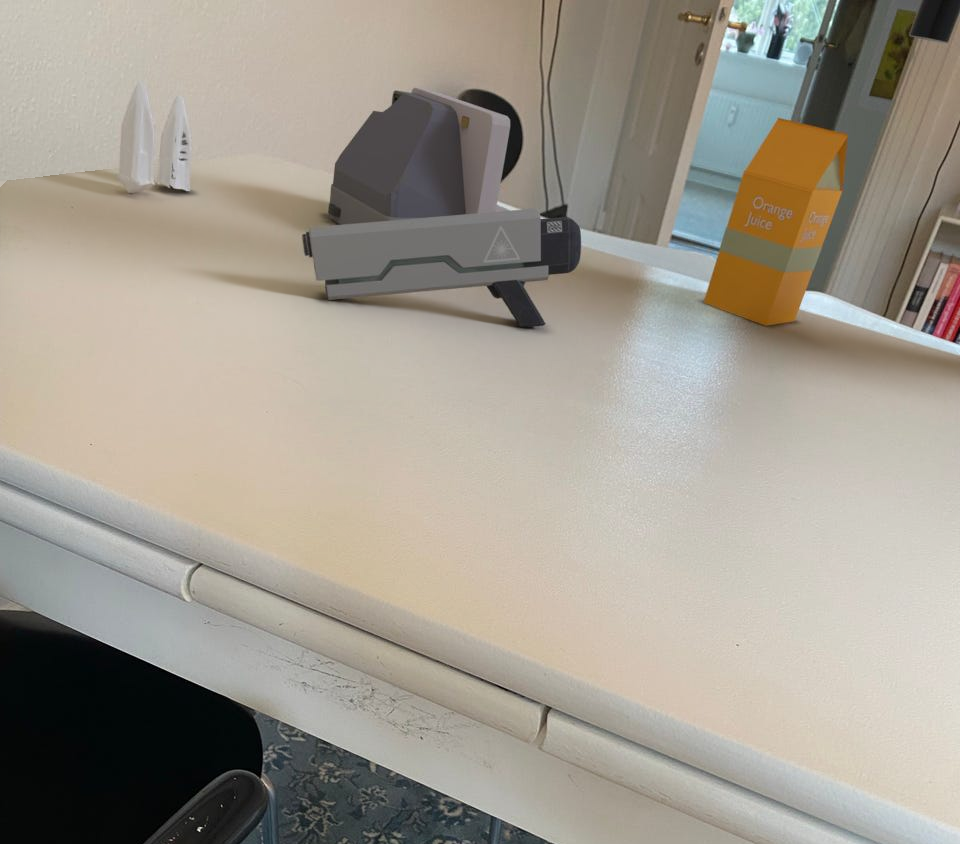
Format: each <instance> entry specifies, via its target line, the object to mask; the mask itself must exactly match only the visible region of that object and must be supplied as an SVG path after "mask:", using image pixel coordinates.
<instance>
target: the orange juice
mask: <svg viewBox="0 0 960 844" xmlns="http://www.w3.org/2000/svg"><path fill="white" fill-rule="evenodd" d="M848 139H849V134H847V133H843V132H840V131H836V130H835V131H834V130H830V129H827V128H824V127H818V126H814V125H810V124H806V123H802V122H797V121H793V120H789V119H785V118H782V117H777V120H776V121H775V122H774V124H773V126H772V127H771V129H770V131H769V132H768V133H767V135H766V136H765V139H764V140H763V142H762V143H761V145H760V146H759V148H758V149H757V151H756V153H755V154H754V156H753V157H752V159H751V161H750V162H749V164H748V165H747V167H746V168H745V169H744V170H743V173H742V176H741V180H740V183H739V186H738V189H737V192H736V197H735V199H734V201H733V205H732V209H731V212H730V215H729V218H728V222H727V225H726V227H725V230H724V233H723V237H722V240H721V243H720V246H719V249H718V253H717V257H716V260H715V264H714V266H713V270H712V273H711V276H710V280H709V283H708V286H707V290H706V293H705V296H704V300H703V302H702V303H704V304H707V305H709V306H711V307H714V308H717V309H719V310H722V311H725V312H727V313H730V314H732V315H736V316H739V317H740V318H744V319H747V320H749V321H751V322H753V323H757V324H759V325H762V326H765V327H767V326H773V325H778V324H785V323H792V322H795V321H796V319H797V315H798V312H799V310H800V307H801V304H802V302H803V299H804V296H805V293H806V291H807V289H808V286H809V283H810V280H811V278H812V275H813V272H814V270H815V268H816V265H817V262H818V260H819V257H820V254H821V252H822V249H823V245H824V243H825V239H826V237H827V234H828V231H829V229H830V226H831V223H832V221H833V218H834V215H835V213H836V210H837V207H838V204H839V202H840V198H841V196H842V193H843V187H844V178H845V168H846V158H847V151H848V150H847V149H848Z"/></svg>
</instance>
